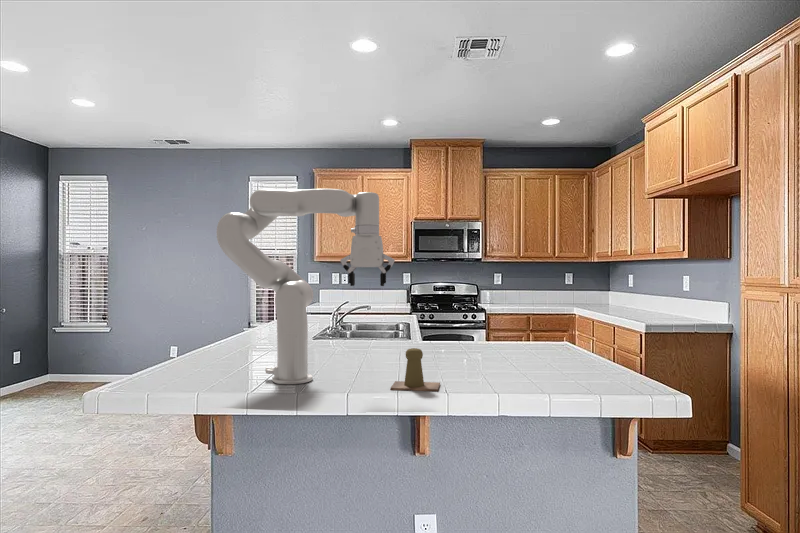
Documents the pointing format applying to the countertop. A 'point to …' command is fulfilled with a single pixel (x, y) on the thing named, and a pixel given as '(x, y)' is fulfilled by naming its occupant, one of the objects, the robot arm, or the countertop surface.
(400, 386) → the walnut board
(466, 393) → the countertop surface
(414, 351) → the cork
